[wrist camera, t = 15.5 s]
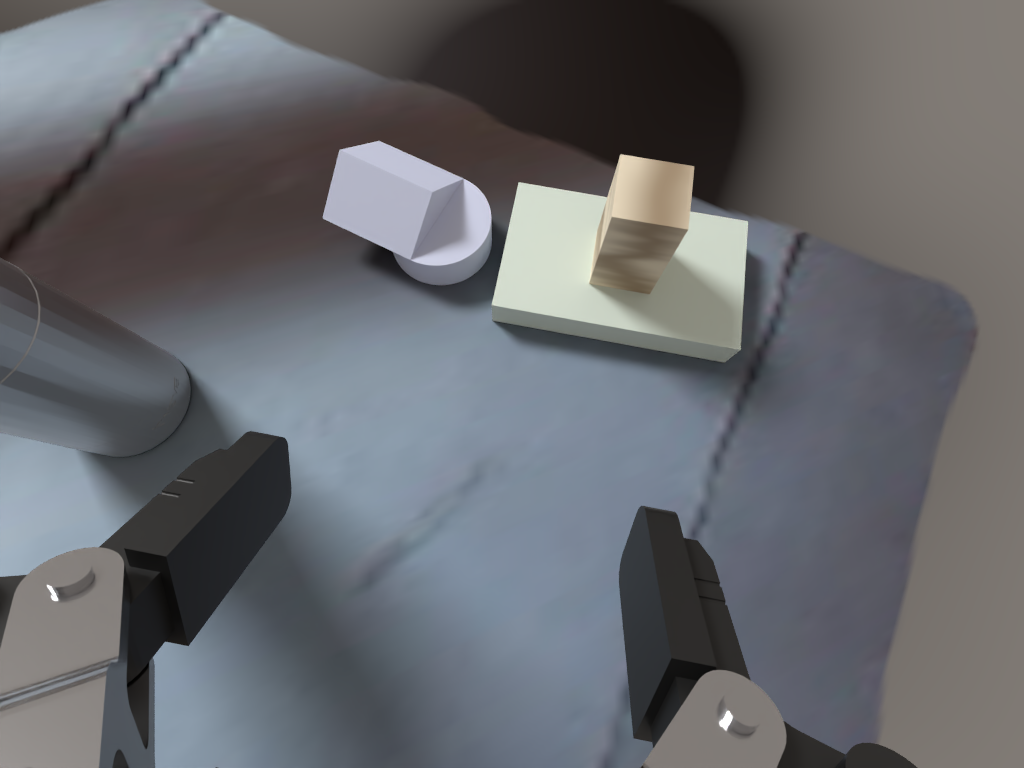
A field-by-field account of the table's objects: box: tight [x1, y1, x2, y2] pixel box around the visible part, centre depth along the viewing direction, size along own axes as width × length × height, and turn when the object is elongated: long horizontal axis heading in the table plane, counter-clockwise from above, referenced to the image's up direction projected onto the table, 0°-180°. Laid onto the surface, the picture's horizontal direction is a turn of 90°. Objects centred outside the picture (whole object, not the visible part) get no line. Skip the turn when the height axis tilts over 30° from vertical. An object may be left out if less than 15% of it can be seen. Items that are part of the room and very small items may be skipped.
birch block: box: [589, 155, 694, 294], centre depth 38 cm, size 5×5×9 cm
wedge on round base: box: [323, 141, 492, 285], centre depth 43 cm, size 9×7×13 cm
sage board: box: [492, 182, 748, 363], centre depth 44 cm, size 20×12×3 cm, turn 79°
